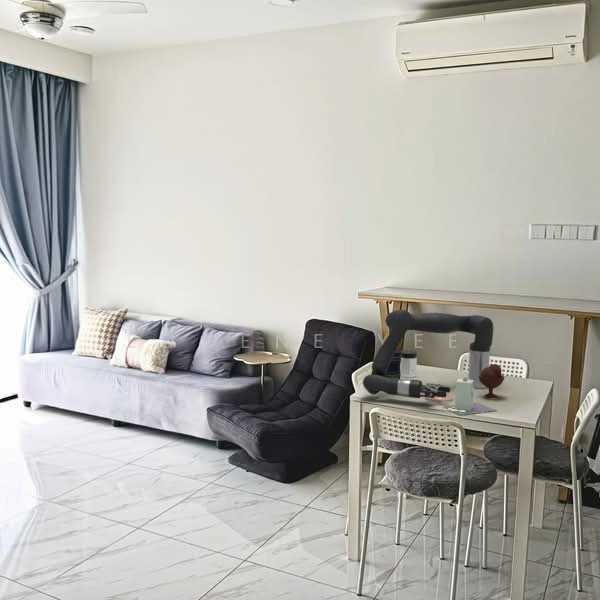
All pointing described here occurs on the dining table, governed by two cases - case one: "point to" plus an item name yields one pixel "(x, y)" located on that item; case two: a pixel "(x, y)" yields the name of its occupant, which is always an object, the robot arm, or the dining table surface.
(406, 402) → the dining table surface
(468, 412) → the mat
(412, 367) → the jar
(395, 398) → the dining table surface
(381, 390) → the robot arm
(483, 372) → the ice cream bowl
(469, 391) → the tall green carton
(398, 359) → the storage jar
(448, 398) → the saucer
